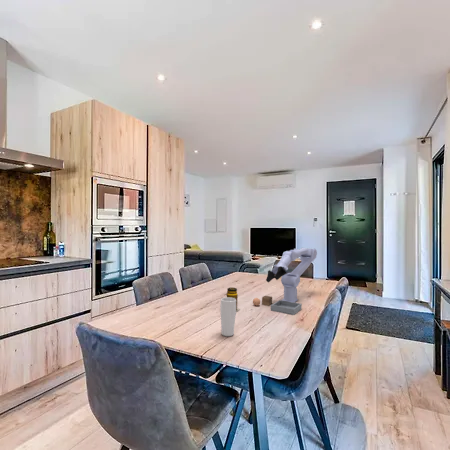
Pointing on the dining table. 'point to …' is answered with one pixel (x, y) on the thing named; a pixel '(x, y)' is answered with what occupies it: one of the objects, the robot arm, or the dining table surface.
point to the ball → (256, 301)
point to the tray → (286, 307)
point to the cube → (267, 300)
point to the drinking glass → (228, 315)
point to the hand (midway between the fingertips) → (271, 279)
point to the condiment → (232, 294)
